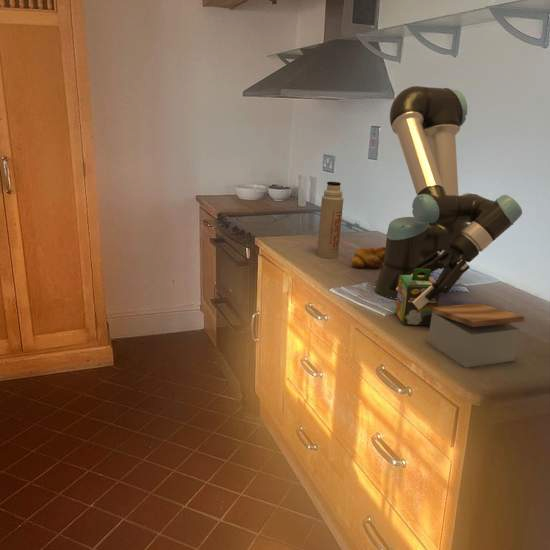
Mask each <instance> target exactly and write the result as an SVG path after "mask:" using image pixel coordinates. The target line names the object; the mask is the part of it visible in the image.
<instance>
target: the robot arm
mask: <svg viewBox="0 0 550 550" xmlns="http://www.w3.org/2000/svg"><path fill="white" fill-rule="evenodd" d="M466 116H468V103H467V99H466V96H464V94H463V93H462V92H461V91H459V90H457V89H453V88H452V89H451V88H450V87H444V88H443V87H429V86H418V85H415V86H410V87H407V88H405V89H403V90H402V91H400V92H399V93H398V95H397V96H396V97H395V98H394V100H393V101H392V103H391V106H390V110H389V123H390V126H391V130H392V132H393V133H394V134H396V135H397V137H398V140H399V144H400V147H401V150H402V152H403V157H404V160H405V162H406V165H407V168H408V172H409V174H410V178H411V180H412V184H413V188H414V191H415V193H416V196H415V197H414V198H413V201H412V205H411V208H412V216H403V217H399V218H398V217H397V218H394V219H393V220H392V221H390V222H389V224H388V227H387V232H386V242H385V256H384V263H383V265H382V266H383V267H382V269H381V270H380V272H379V274H378V277H377V280H376V281H375V284H374V291H375V292H376V293H377V294H378V295H380V294H381V295H380V296H382V295H383V297H385V296H387V297H386V298H388V297H392V298H397V293H398V284H399V276H400V275H413V272H414V269H431V273H432V272H435V271H438V270H441V272H440V274H439V276H438V278H437V280H436V283H435V284H432V285H433V286H434V287H433V286H430V287H429V288H427V289H426V290H425V291H424V292H423V293H422V294H421V295H420V296H419V297H417V298H416V299H415V300H414V301H413V304H414V305H415V306H416V307H417V308H418V309H419V310H420V309H421V308H422V307H423V306H424V305H425V304H426V303H428V302H429V301H430V300H432V299H433V298H434V297H435V296H436V295H437V294H438V293H440V294H442V293H443V294H444V295H446V294H448V293H449V292H450V291H451V289H452V288H453V286H455V284H456V283H457V282H458V281H459V279H460V278H461V277H462V275H463V274H464V273H466V271H468V270H469V269H470V266H469V263H471V262H472V261H473V260H474V259H475V258H476V257H478V256H479V254H480V252H483V251H484V250H485V249H486V248H488V246H490V245H491V244H492V243H493V242H494V241H495V240H497V238H499V237H500V236H501V235H502V234H504V232H505V231H507V230H508V229H509V228H510V227H512V226H513V225H514V223H515V222H516V221H517V220H518V219H520V218H521V216H522V214H523V210H522V207H521V205H520V204H519V203H518V201H517V200H516V199H514V198H513V197H511V196H510V195H508V194H503V195H501V196H499V197H497V198H496V200H491V199H489V198H485V197H483V196H481V195H479V194H476V193H470V192H466V193H464V194H460V195H459V181H458V178H459V177H458V161H457V160H458V159H457V146H456V145H457V141H456V136H457V134H458V133H459V132H460V130H461V127H462V126H463V125H464V123H465V121H466V120H467V119H466V118H467V117H466ZM417 275H426V274H425V273H423V272H420V273H418V274H417ZM392 298H391V299H392Z"/></svg>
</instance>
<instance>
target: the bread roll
mask: <svg viewBox="0 0 550 550" xmlns="http://www.w3.org/2000/svg"><path fill="white" fill-rule="evenodd" d="M385 248H386V246H383V247H377V248H374V247H367V248H363V247H362V248H358V249H357V250H356V251H355V252H354V257H353V258H352V260H351V264H352V266H353V267H355V268H359V269H365V268H368V269H373V270H375V269H379V268H381V267H382V266H383V265H384V256H385Z"/></svg>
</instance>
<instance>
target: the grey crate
mask: <svg viewBox="0 0 550 550" xmlns="http://www.w3.org/2000/svg"><path fill="white" fill-rule="evenodd" d="M428 332H429V333H428V337H427V343H428V345H430V346H432V347H433V348H435V349H436V350H438V351H439V352H441V353H443V354H445V355H446V356H447V357H449V358H450V359H452V360H453V361H454V362H456V363H458V364H460V366H462V367H464V368H472V367H473V368H474V367H480V366H487V365H494V364H502V363H509V362H514V360H515V356H516V351H517V347H518V341H519V337H520V332H521V329H520V328H519V327H517V326H515V325H513V324H511V323H505V324H496V325H486V326H477V327H472V326H469V325H466V324H463V323H460V322H458V321H455V320H452V319H449V318H446V317H443V316H441V315H438V314H435V313H432V317H431V323H430V326H429V331H428Z"/></svg>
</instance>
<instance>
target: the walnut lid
mask: <svg viewBox="0 0 550 550" xmlns="http://www.w3.org/2000/svg"><path fill="white" fill-rule="evenodd" d="M431 312H432V313H435V314H438V315H441V316H443V317H446V318H449V319H452V320H455V321H458V322H460V323H463V324H466V325H469V326H472V327H477V326H486V325H496V324H505V323H509V324H511V323H512V324H513V323H523V322H524V319H525V316H524V315H520V314H517V313H514V312H510V311H507V310H503V309H501V308H497V307H493V306H489V305H486V304H483V303H480V302H477V303H467V304H466V303H464V304H455V305H443V306H438V307H432V308H431Z"/></svg>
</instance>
